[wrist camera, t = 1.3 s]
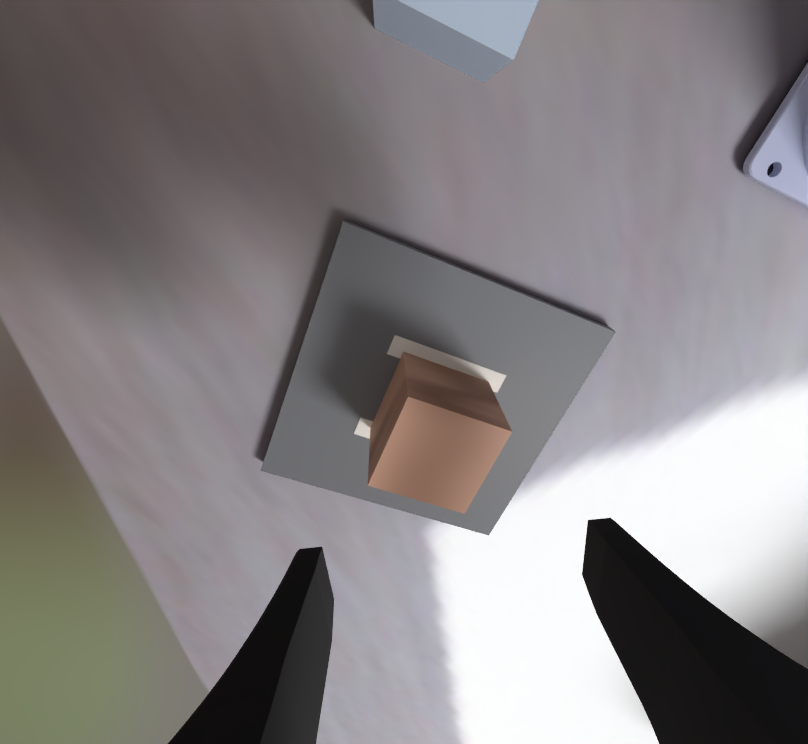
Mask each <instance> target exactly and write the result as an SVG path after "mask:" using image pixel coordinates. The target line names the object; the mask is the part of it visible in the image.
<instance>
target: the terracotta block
mask: <svg viewBox="0 0 808 744" xmlns="http://www.w3.org/2000/svg"><path fill="white" fill-rule="evenodd" d="M511 433H512V430H511V428H510V426H509V424H508V422H507V419H506V417H505V415H504V413H503V411H502V409H501V407H500V405H499V403H498V401H497V398H496V396H495V394H494V392H493V390H492V388H491V386H490V384H489V382H488V381H485V380H482V379H479V378H476V377H474V376H471V375H468V374H465V373H462V372H460V371H457V370H454V369H451V368H448V367H445V366H443V365H440V364H437V363H434V362H431V361H429V360H426V359H423V358H420V357H417V356H415V355H412V354H409V353H406V352H403V354H402V356H401V358H400V360H399V363H398V365H397V367H396V370H395V372H394V374H393V377H392V379H391V381H390V384H389V386H388V388H387V391H386V393H385V395H384V398H383V400H382V402H381V405H380V407H379V409H378V412H377V414H376V416H375V418H374V421H373V423H372V425H371V428H370V447H369V467H368V486H371V487H374V488H378V489H381V490H384V491H388V492H391V493H395V494H398V495H402V496H405V497H409V498H412V499H415V500H419V501H422V502H426V503H429V504H433V505H436V506H440V507H443V508H446V509H450V510H453V511H457V512H460V513H464V514H465V512H466V511H467V509H468V507H469V505H470V504H471V502H472V500H473V498H474V497H475V495H476V493H477V492H478V490H479V488H480V486H481V485H482V483H483V481H484V480H485V478H486V476H487V474H488V473H489V471H490V469H491V468H492V466H493V464H494V462H495V461H496V459H497V457H498V455H499V454H500V452H501V450H502V449H503V447H504V445H505V443H506V442H507V440H508V438H509V437H510V435H511Z"/></svg>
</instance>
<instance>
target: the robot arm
mask: <svg viewBox="0 0 808 744" xmlns="http://www.w3.org/2000/svg"><path fill="white" fill-rule="evenodd" d="M771 164H773V170H772V172H771V174H770V175H769V176H768V175H767V170H768V167H769V166H770V165H771ZM743 171H744V174H745V175H746V176H747V177H748V178H750V179H752V180H754V181H756V182H757V183H759V184H761V185H763V186H765V187H767V188H769V189H771V190H773V191H775V192H777V193H779V194H781V195H783V196H784V197H786V198H788V199H790V200H792V201H794V202H796V203H798V204H800V205H802V206H804V207H806V208H808V63H807V64H806V66H805V67H804V69H803V71H802V72H801V74H800V75H799V77H798V78H797V80H796V81H795V83H794V85H793V86H792V88H791V89H790V91H789V92H788V94H787V95H786V97H785V99H784V100H783V102H782V103H781V105H780V106H779V108H778V110H777V111H776V113H775V114H774V116H773V117H772V119H771V120H770V122H769V124H768V125H767V127H766V128H765V130H764V131H763V133H762V134H761V136H760V138H759V139H758V141H757V142H756V144H755V145H754V147H753V148H752V150H751V152H750V153H749V155H748V156H747V158H746V160H745V162H744V165H743ZM582 575H583V578H584V581H585V584H586V586H587V589H588V592H589V595H590V597H591V600H592V603H593V605H594V608H595V610H596V613H597V615H598V617H599V619H600V621H601V623H602V625H603V627H604V629H605V631H606V633H607V635H608V637H609V639H610V641H611V643H612V645H613V647H614V649H615V651H616V653H617V655H618V657H619V659H620V661H621V663H622V665H623V667H624V669H625V671H626V673H627V675H628V677H629V679H630V681H631V683H632V685H633V687H634V689H635V691H636V693H637V695H638V697H639V699H640V701H641V703H642V705H643V707H644V709H645V711H646V713H647V716H648V718H649V720H650V722H651V724H652V727H653V729H654V731H655V734H656V736H657V739H658V741H659V744H808V669H807V668H805V667H803V666H802V665H800V664H798V663H797V662H795V661H794V660H792V659H791V658H789V657H787V656H786V655H784V654H783V653H781V652H780V651H778V650H777V649H775V648H774V647H772V646H771V645H769V644H768V643H766V642H765V641H763V640H762V639H760V638H759V637H757V636H756V635H754V634H753V633H752V632H750V631H749V630H747V629H746V628H744V627H743V626H741V625H740V624H739V623H737V622H736V621H734V620H733V619H732V618H730V617H729V616H728V615H726V614H725V613H724V612H722V611H721V610H720V609H718V608H717V607H716V606H714V605H713V604H712V603H710V602H709V601H708V600H706V599H705V598H704V597H703V596H701V595H700V594H699V593H698V592H696V591H695V590H694V589H693V588H691V587H690V586H689V585H688V584H686V583H685V582H684V581H683V580H682V579H680V578H679V577H678V576H677V575H676V574H674V573H673V572H672V571H671V570H670V569H668V568H667V567H666V566H665V565H664V564H663V563H661V562H660V561H659V560H658V559H657V558H656V557H654V556H653V555H652V554H651V553H650V552H649V551H648V550H646V549H645V548H644V547H643V546H642V545H641V544H640V543H639V542H637V541H636V540H635V539H634V538H633V537H632V536H631V535H630V534H628V533H627V532H626V531H625V530H624V529H623V528H622V527H621V526H619V525H618V524H617V523H616V522H615V521H614V520H613V519H611V518H605V519H595V520H588V526H587V535H586V545H585V554H584V563H583V572H582ZM333 609H334V597H333V593H332V589H331V584H330V580H329V575H328V571H327V567H326V562H325V558H324V553H323V549H322V547H315V548H305V549H299V550H298V551H297V552H296V554H295V556H294V558H293V560H292V562H291V564H290V566H289V568H288V570H287V572H286V574H285V576H284V578H283V579H282V581H281V583H280V585H279V587H278V589H277V590H276V592H275V594H274V596H273V597H272V599H271V601H270V603H269V604H268V606H267V608H266V609H265V611H264V613H263V614H262V616H261V618H260V619H259V621H258V623H257V624H256V626H255V628H254V629H253V631H252V632H251V634H250V635H249V637H248V638H247V640H246V641H245V643H244V644H243V646H242V647H241V649H240V650H239V652H238V653H237V655H236V657H235V658H234V659H233V661H232V662H231V664H230V665H229V667H228V668H227V669H226V671H225V672H224V674H223V675H222V676H221V678H220V679H219V681H218V682H217V683H216V685H215V686H214V687H213V689H212V690H211V691H210V693H209V694H208V695H207V697H206V698H205V699H204V700H203V702H202V703H201V704H200V705H199V707H198V708H197V709H196V710H195V712H194V713H193V714H192V715H191V717H190V718H189V719H188V721H186V723H185V724H184V725H183V727H182V728H181V729H180V730H179V731H178V732H177V734H176V735H175V736H174V737H173V738H172V740H171V741H170V742H169V743H168V744H316V739H317V732H318V725H319V719H320V713H321V706H322V700H323V694H324V687H325V681H326V675H327V668H328V662H329V655H330V649H331V642H332V628H333Z"/></svg>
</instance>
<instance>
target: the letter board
mask: <svg viewBox="0 0 808 744" xmlns="http://www.w3.org/2000/svg"><path fill="white" fill-rule="evenodd" d="M614 334H615V331H614V330H613V329H611V328H610V327H608V326H605V325H603V324H600V323H598V322H596V321H593V320H591V319H588V318H586V317H583V316H581V315H578V314H576V313H573V312H571V311H568V310H566V309H564V308H561V307H559V306H556V305H554V304H551V303H549V302H546V301H544V300H541V299H539V298H536V297H534V296H532V295H529V294H527V293H524V292H522V291H519V290H517V289H514V288H512V287H509V286H507V285H504V284H502V283H500V282H497V281H495V280H492V279H490V278H487V277H485V276H482V275H480V274H477V273H475V272H472V271H470V270H468V269H465V268H463V267H460V266H458V265H455V264H453V263H450V262H448V261H445V260H443V259H440V258H438V257H436V256H433V255H431V254H428V253H426V252H423V251H421V250H418V249H416V248H413V247H411V246H408V245H406V244H404V243H401V242H399V241H396V240H394V239H391V238H389V237H386V236H384V235H381V234H379V233H376V232H374V231H372V230H369V229H367V228H364V227H362V226H359V225H357V224H354V223H352V222H349V221H347V220H344V221H343V223H342V226H341V229H340V232H339V235H338V238H337V241H336V244H335V247H334V250H333V253H332V256H331V259H330V262H329V265H328V268H327V271H326V274H325V278H324V281H323V284H322V287H321V290H320V293H319V296H318V299H317V302H316V305H315V308H314V311H313V314H312V317H311V320H310V323H309V326H308V329H307V332H306V335H305V338H304V341H303V344H302V347H301V350H300V353H299V356H298V359H297V362H296V365H295V368H294V371H293V374H292V377H291V380H290V383H289V386H288V389H287V392H286V395H285V398H284V401H283V404H282V407H281V410H280V414H279V417H278V420H277V423H276V426H275V429H274V432H273V435H272V438H271V441H270V444H269V447H268V450H267V453H266V456H265V459H264V462H263V465H262V468H261V471H264V472H267V473H271V474H274V475H278V476H282V477H285V478H289V479H292V480H296V481H299V482H303V483H306V484H310V485H313V486H317V487H320V488H324V489H327V490H331V491H334V492H338V493H342V494H345V495H349V496H352V497H356V498H359V499H363V500H366V501H370V502H373V503H377V504H380V505H384V506H387V507H391V508H394V509H398V510H402V511H405V512H409V513H412V514H416V515H419V516H423V517H426V518H430V519H433V520H437V521H440V522H444V523H447V524H451V525H454V526H458V527H462V528H465V529H469V530H472V531H476V532H479V533H483V534H486V535H489V534H490V532H491V531H492V529H493V528H494V526H495V524H496V523H497V521H498V520H499V518H500V516H501V515H502V513H503V512H504V510H505V508H506V507H507V505H508V504H509V502H510V500H511V499H512V497H513V496H514V494H515V492H516V491H517V489H518V488H519V486H520V484H521V483H522V481H523V480H524V478H525V476H526V475H527V473H528V472H529V470H530V468H531V467H532V465H533V464H534V462H535V460H536V459H537V457H538V456H539V454H540V452H541V451H542V449H543V448H544V446H545V444H546V443H547V441H548V440H549V438H550V436H551V435H552V433H553V432H554V430H555V428H556V427H557V425H558V424H559V422H560V420H561V419H562V417H563V416H564V414H565V412H566V411H567V409H568V408H569V406H570V404H571V403H572V401H573V400H574V398H575V396H576V395H577V393H578V391H579V390H580V388H581V387H582V385H583V383H584V382H585V380H586V379H587V377H588V375H589V374H590V372H591V371H592V369H593V367H594V366H595V364H596V363H597V361H598V359H599V358H600V356H601V355H602V353H603V351H604V350H605V348H606V347H607V345H608V343H609V342H610V340H611V339H612V337H613V335H614ZM403 352H406V353H409V354H412V355H415V356H417V357H420V358H423V359H426V360H429V361H431V362H434V363H437V364H440V365H443V366H445V367H448V368H451V369H454V370H457V371H460V372H462V373H465V374H468V375H471V376H474V377H476V378H479V379H482V380H485V381H488V382H489V384H490V386H491V388H492V390H493V392H494V394H495V396H496V398H497V401H498V403H499V405H500V407H501V409H502V411H503V413H504V415H505V417H506V419H507V422H508V424H509V426H510V428H511V430H512V433H511V435H510V437H509V438H508V440H507V442H506V443H505V445H504V447H503V449H502V450H501V452H500V454H499V455H498V457H497V459H496V461H495V462H494V464H493V466H492V468H491V469H490V471H489V473H488V474H487V476H486V478H485V480H484V481H483V483H482V485H481V486H480V488H479V490H478V492H477V493H476V495H475V497H474V498H473V500H472V502H471V504H470V505H469V507H468V509H467V511H466V512H465V514H464V513H460V512H457V511H453V510H450V509H446V508H443V507H440V506H436V505H433V504H429V503H426V502H422V501H419V500H415V499H412V498H409V497H405V496H402V495H398V494H395V493H391V492H388V491H384V490H381V489H378V488H374V487H371V486H368V467H369V447H370V428H371V425H372V423H373V421H374V418H375V416H376V414H377V412H378V409H379V407H380V405H381V402H382V400H383V398H384V395H385V393H386V391H387V388H388V386H389V384H390V381H391V379H392V377H393V374H394V372H395V370H396V367H397V365H398V363H399V360H400V358H401V356H402V354H403Z"/></svg>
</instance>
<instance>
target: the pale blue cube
mask: <svg viewBox="0 0 808 744" xmlns="http://www.w3.org/2000/svg"><path fill="white" fill-rule="evenodd" d="M538 1H539V0H373V12H374V26H375V29H377V30H379V31H381V32H383V33H385V34H387V35H389V36H391V37H393V38H395V39H397V40H399V41H401V42H403V43H405V44H407V45H409V46H411V47H413V48H415V49H417V50H419V51H421V52H423V53H425V54H427V55H429V56H431V57H433V58H435V59H437V60H439V61H441V62H443V63H445V64H447V65H449V66H451V67H453V68H455V69H457V70H459V71H461V72H463V73H465V74H467V75H469V76H471V77H473V78H475V79H477V80H479V81H481V82H483V83H485V82H486V81H487V80H488V79H490V78H491V77H492V76H494V75H495V74H496V73H497V72H499V71H500V70H501V69H503V68H504V67H505V66H507V65H508V64H509V63H510V62H512V61H513V60H514V58H515V55H516V53H517V51H518V48H519V46H520V43H521V41H522V39H523V36H524V34H525V32H526V29H527V27H528V24H529V22H530V20H531V17H532V15H533V12H534V10H535V8H536V5H537V3H538Z"/></svg>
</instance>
